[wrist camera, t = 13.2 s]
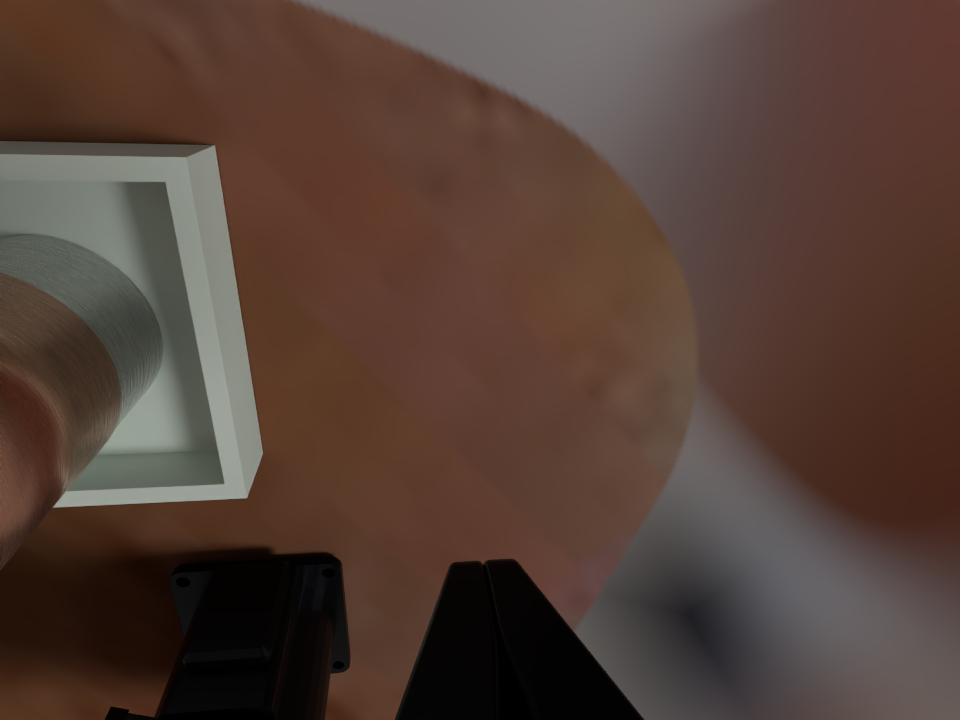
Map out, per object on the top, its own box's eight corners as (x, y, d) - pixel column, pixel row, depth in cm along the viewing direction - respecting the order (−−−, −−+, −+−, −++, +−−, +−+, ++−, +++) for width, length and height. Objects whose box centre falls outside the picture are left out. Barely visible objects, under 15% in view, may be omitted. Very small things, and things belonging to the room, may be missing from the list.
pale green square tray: (262, 453, 22) (247, 498, 19) (-58, 466, 20) (-115, 515, 18) (214, 145, 17) (186, 157, 15) (-207, 136, 16) (-308, 149, 13)
